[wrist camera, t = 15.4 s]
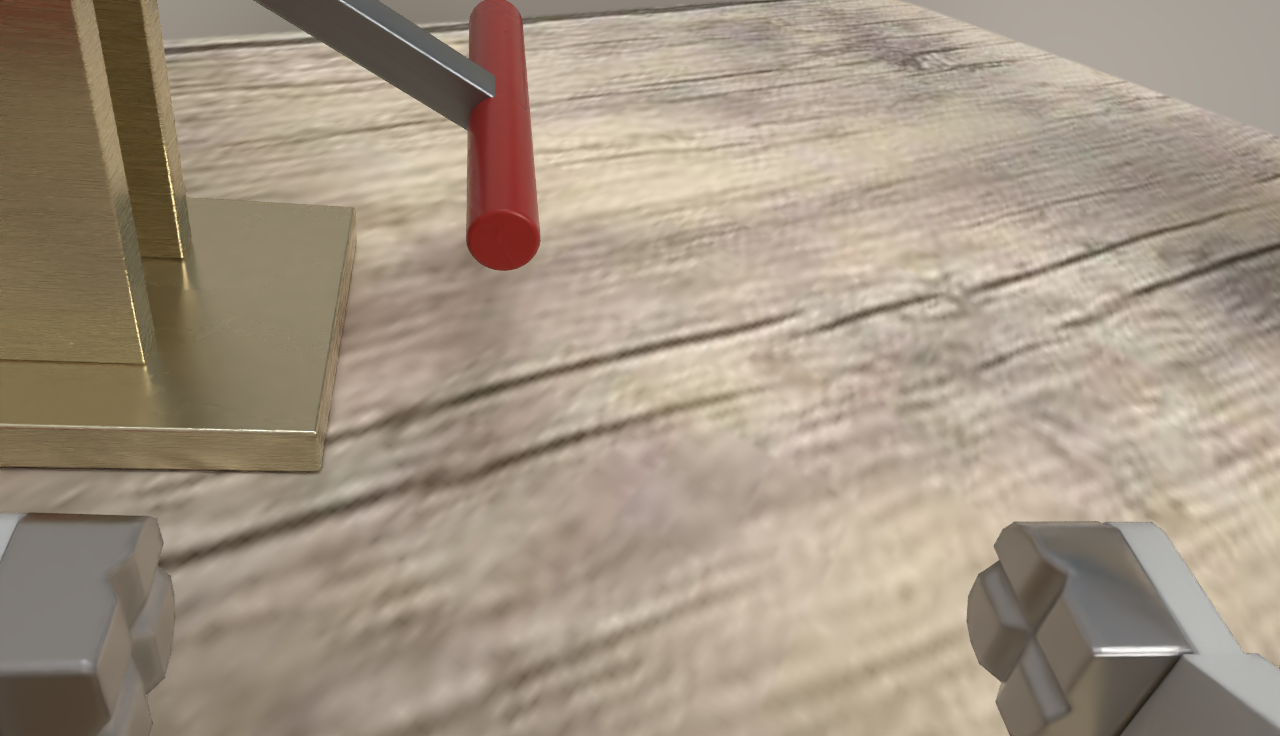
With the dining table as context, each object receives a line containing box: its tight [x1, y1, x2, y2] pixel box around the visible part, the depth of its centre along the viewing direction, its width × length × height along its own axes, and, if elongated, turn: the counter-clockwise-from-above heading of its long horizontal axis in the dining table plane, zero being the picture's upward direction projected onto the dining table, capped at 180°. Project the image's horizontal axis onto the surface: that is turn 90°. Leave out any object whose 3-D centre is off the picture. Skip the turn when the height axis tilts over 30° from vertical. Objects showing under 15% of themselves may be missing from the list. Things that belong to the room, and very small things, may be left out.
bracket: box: [0, 0, 356, 472], centre depth 21 cm, size 12×9×14 cm
